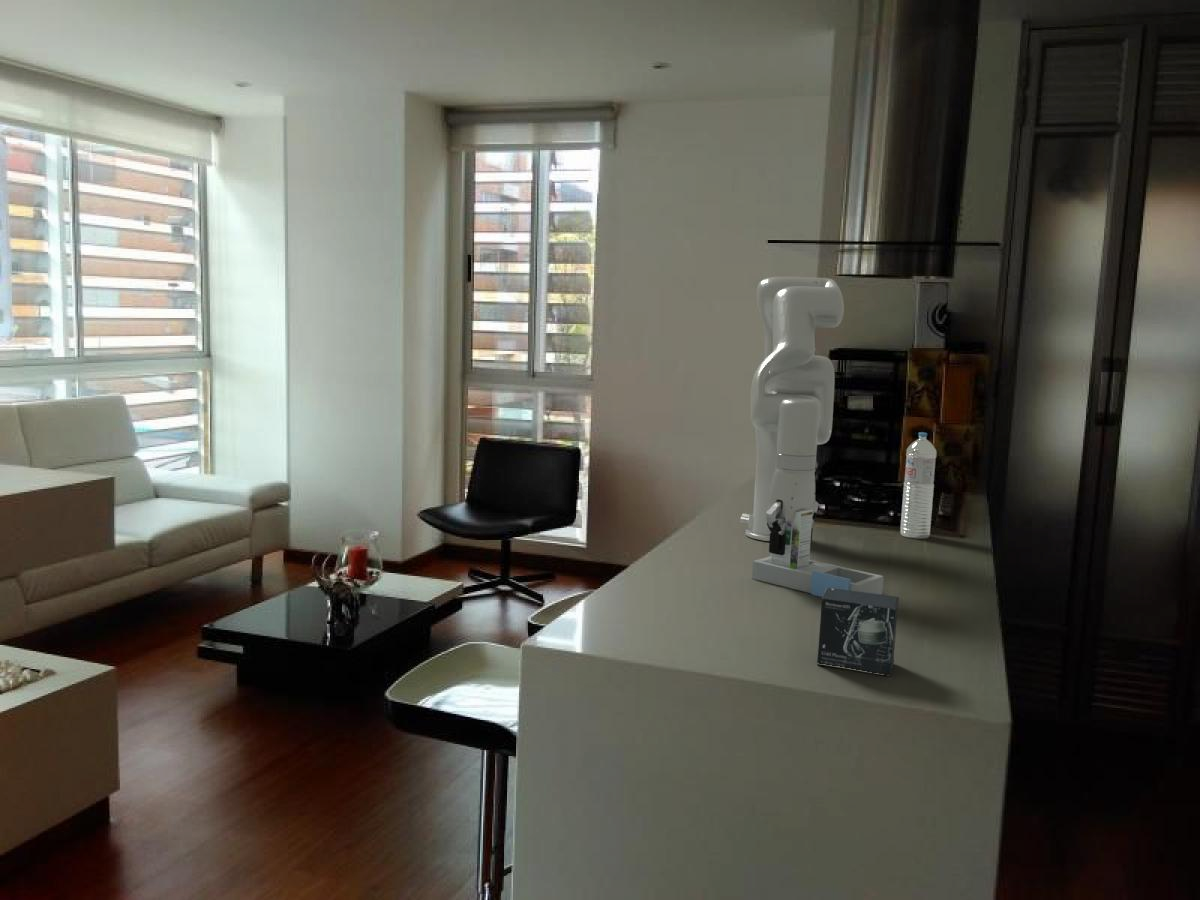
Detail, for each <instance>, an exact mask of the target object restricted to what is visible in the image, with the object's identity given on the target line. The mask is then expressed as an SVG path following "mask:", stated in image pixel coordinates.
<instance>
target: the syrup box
mask: <svg viewBox="0 0 1200 900" xmlns="http://www.w3.org/2000/svg"><path fill="white" fill-rule="evenodd" d="M812 514H813V508H812V509H811V508H808V509H802V510H799V511H796V514H795V519H794V522H793V523H791V524H788V525H787V527H786V530H785V532H784V534H785V535H786V541H785V554H784V555H777V554H773V553H770V556H771V558H770V563H771V564H775V565H779V566H784V567H788V568H792V569H797V568H800V567H803V566H806V565H809V560H810V552H811V547H810V542H811V528H813V527H812ZM783 519H784V518H783ZM778 524H779V526H780V527H781V523H778Z"/></svg>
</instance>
